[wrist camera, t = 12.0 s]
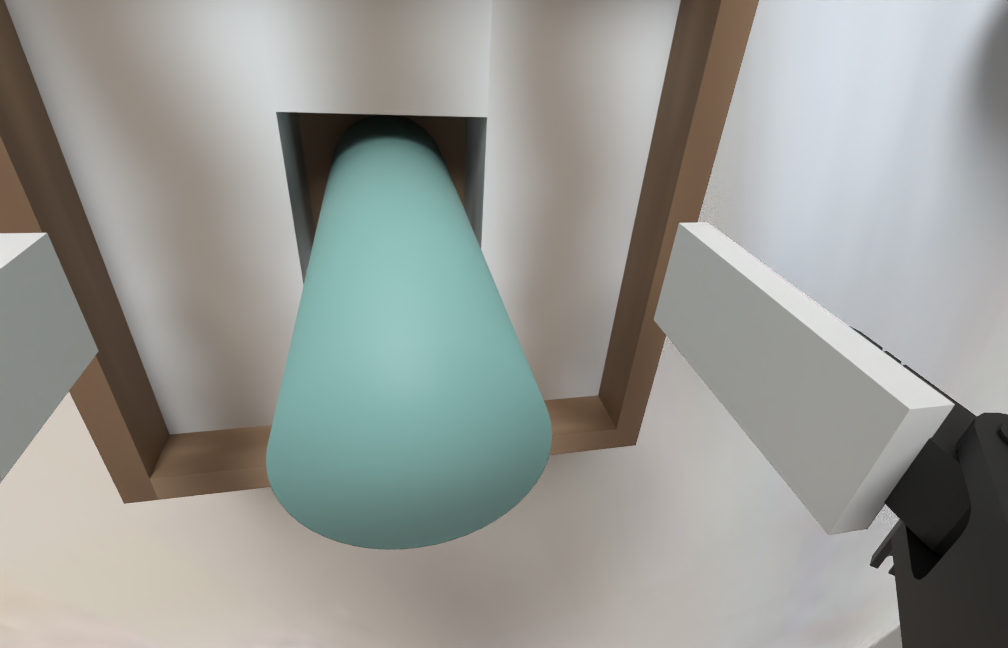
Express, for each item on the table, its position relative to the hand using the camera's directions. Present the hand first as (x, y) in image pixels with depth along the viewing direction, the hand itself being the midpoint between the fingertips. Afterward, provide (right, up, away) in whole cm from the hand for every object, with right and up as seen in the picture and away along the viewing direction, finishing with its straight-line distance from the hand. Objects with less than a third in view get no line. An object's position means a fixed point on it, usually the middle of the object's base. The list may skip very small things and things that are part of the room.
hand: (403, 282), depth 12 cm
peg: (-2, +5, +7) cm, 9 cm away
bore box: (-2, +5, +8) cm, 10 cm away
